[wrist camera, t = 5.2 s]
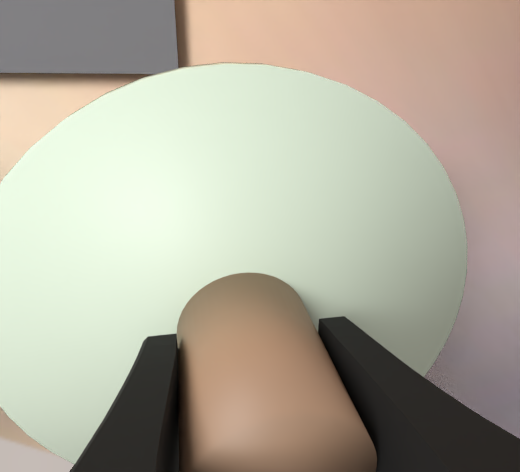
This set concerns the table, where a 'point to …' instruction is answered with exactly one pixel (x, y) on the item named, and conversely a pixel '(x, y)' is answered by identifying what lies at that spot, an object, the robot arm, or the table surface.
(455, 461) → the robot arm
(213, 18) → the table surface
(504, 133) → the table surface
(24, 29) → the mat
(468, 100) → the table surface
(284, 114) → the lid
